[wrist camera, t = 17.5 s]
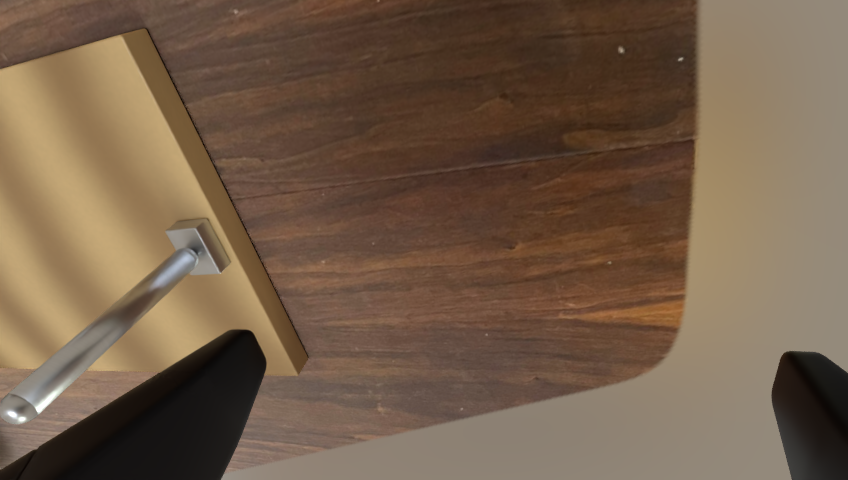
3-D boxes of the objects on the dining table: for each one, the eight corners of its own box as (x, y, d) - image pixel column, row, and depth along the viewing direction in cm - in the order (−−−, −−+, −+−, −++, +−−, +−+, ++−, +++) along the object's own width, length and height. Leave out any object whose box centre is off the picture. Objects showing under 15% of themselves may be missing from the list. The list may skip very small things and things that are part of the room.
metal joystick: (177, 220, 25) (-43, 390, 16) (207, 217, 24) (-3, 392, 15) (201, 265, 26) (13, 444, 17) (231, 263, 25) (51, 448, 17)
